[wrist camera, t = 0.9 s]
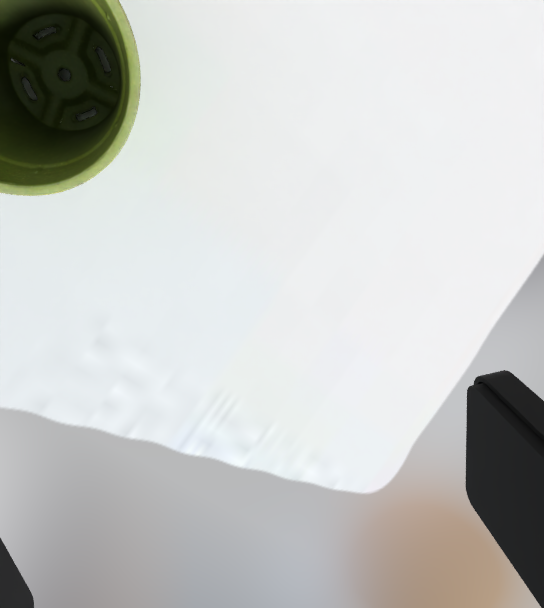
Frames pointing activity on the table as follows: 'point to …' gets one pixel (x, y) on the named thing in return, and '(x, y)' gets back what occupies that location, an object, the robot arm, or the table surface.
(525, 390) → the robot arm
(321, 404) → the table surface
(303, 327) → the table surface
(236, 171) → the table surface
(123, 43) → the plant pot
